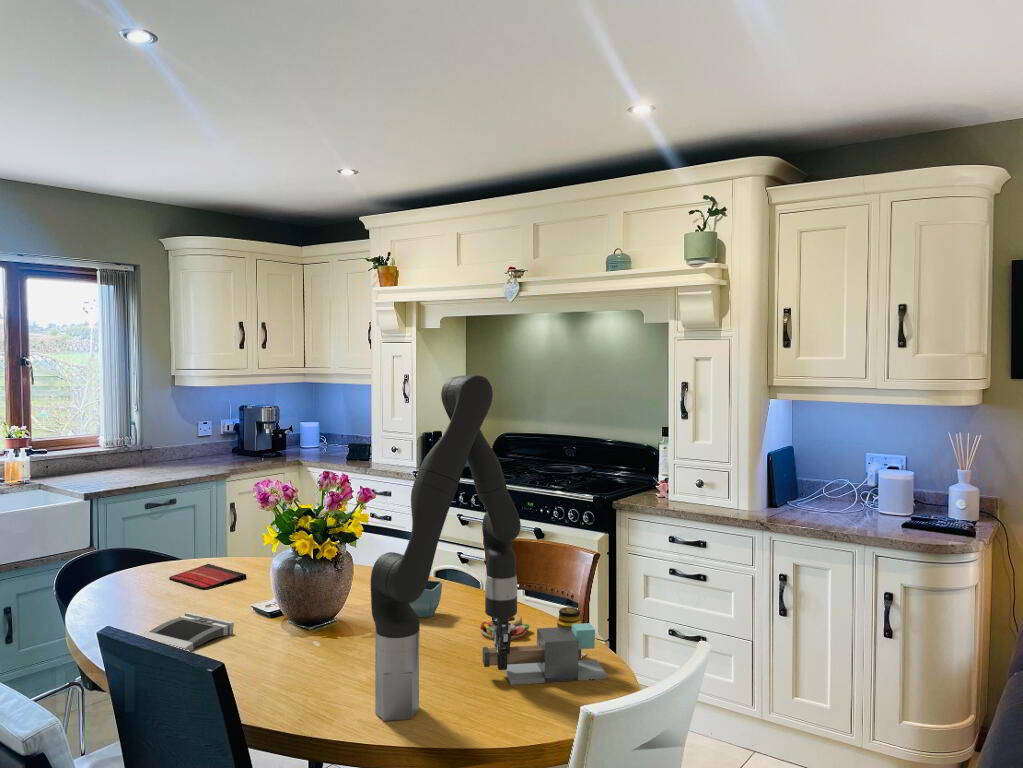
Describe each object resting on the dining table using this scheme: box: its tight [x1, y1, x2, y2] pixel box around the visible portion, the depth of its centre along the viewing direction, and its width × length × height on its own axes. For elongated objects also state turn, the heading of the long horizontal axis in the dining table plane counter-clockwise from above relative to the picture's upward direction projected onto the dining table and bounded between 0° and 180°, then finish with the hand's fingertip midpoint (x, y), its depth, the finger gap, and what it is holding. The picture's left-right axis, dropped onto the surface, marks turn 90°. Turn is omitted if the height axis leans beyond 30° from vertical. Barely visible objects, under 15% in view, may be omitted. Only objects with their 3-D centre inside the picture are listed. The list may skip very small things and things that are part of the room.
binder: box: [169, 563, 247, 590], centre depth 255 cm, size 16×2×21 cm
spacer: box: [572, 622, 596, 650], centre depth 183 cm, size 4×4×4 cm
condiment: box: [556, 606, 587, 658], centre depth 193 cm, size 7×8×12 cm
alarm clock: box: [140, 612, 235, 652], centre depth 202 cm, size 17×5×16 cm
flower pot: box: [409, 579, 443, 619], centre depth 222 cm, size 9×9×9 cm
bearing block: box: [536, 626, 579, 684], centre depth 182 cm, size 9×8×10 cm
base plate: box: [504, 659, 608, 686], centre depth 182 cm, size 9×23×1 cm, turn 100°
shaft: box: [481, 644, 582, 668], centre depth 181 cm, size 3×23×3 cm, turn 100°
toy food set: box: [479, 613, 530, 641], centre depth 209 cm, size 13×13×3 cm
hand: (501, 665), depth 180 cm, fingers closed on shaft, 3 cm apart
